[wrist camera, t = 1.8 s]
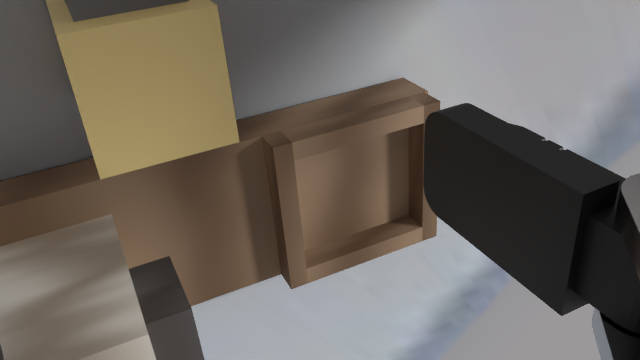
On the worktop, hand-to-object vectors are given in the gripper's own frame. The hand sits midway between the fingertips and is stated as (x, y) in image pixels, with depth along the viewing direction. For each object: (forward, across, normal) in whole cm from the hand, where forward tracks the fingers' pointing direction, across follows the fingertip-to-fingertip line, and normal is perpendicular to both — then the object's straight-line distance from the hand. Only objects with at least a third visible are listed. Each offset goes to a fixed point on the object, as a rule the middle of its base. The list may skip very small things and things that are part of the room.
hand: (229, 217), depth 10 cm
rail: (+14, -2, +8) cm, 16 cm away
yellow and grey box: (+14, 0, 0) cm, 14 cm away
